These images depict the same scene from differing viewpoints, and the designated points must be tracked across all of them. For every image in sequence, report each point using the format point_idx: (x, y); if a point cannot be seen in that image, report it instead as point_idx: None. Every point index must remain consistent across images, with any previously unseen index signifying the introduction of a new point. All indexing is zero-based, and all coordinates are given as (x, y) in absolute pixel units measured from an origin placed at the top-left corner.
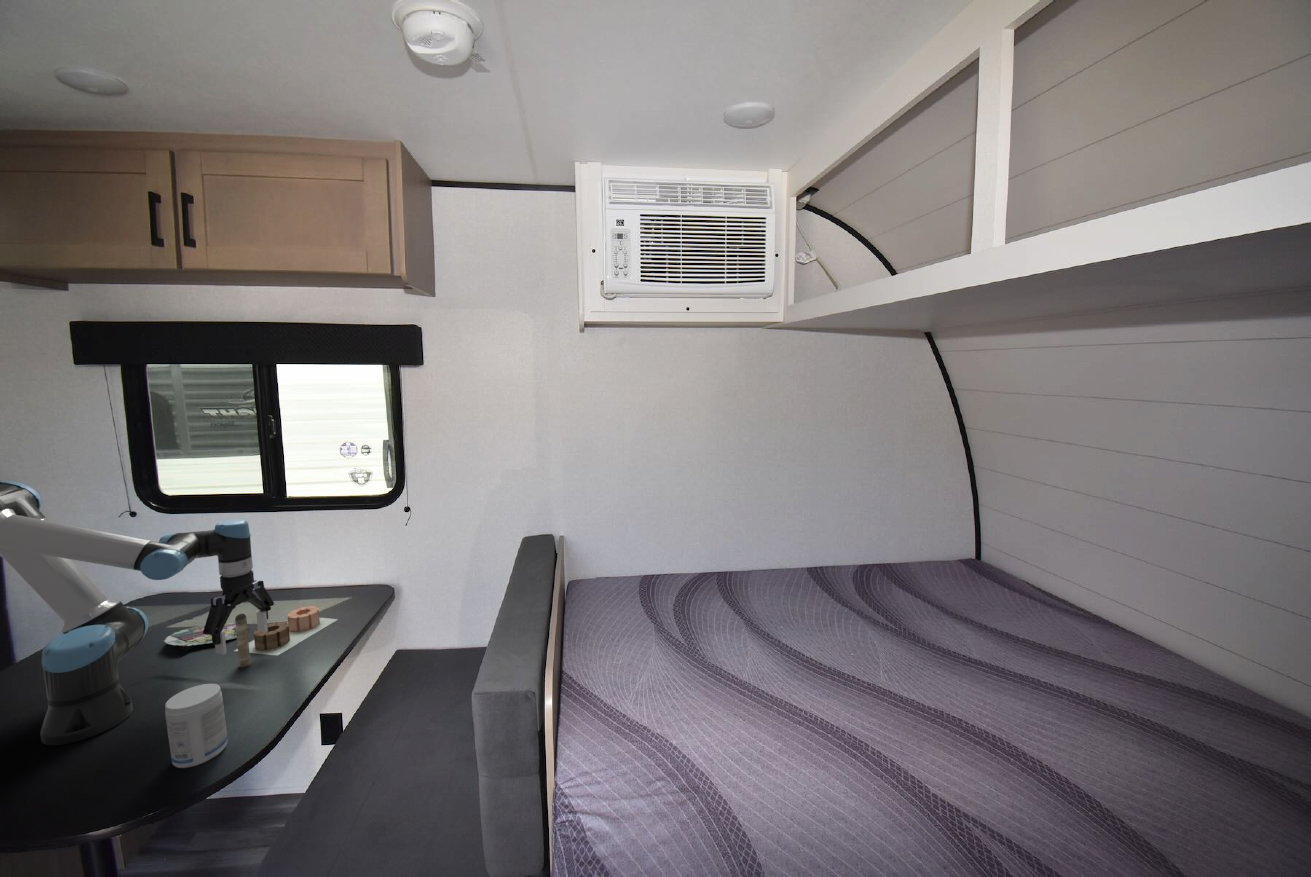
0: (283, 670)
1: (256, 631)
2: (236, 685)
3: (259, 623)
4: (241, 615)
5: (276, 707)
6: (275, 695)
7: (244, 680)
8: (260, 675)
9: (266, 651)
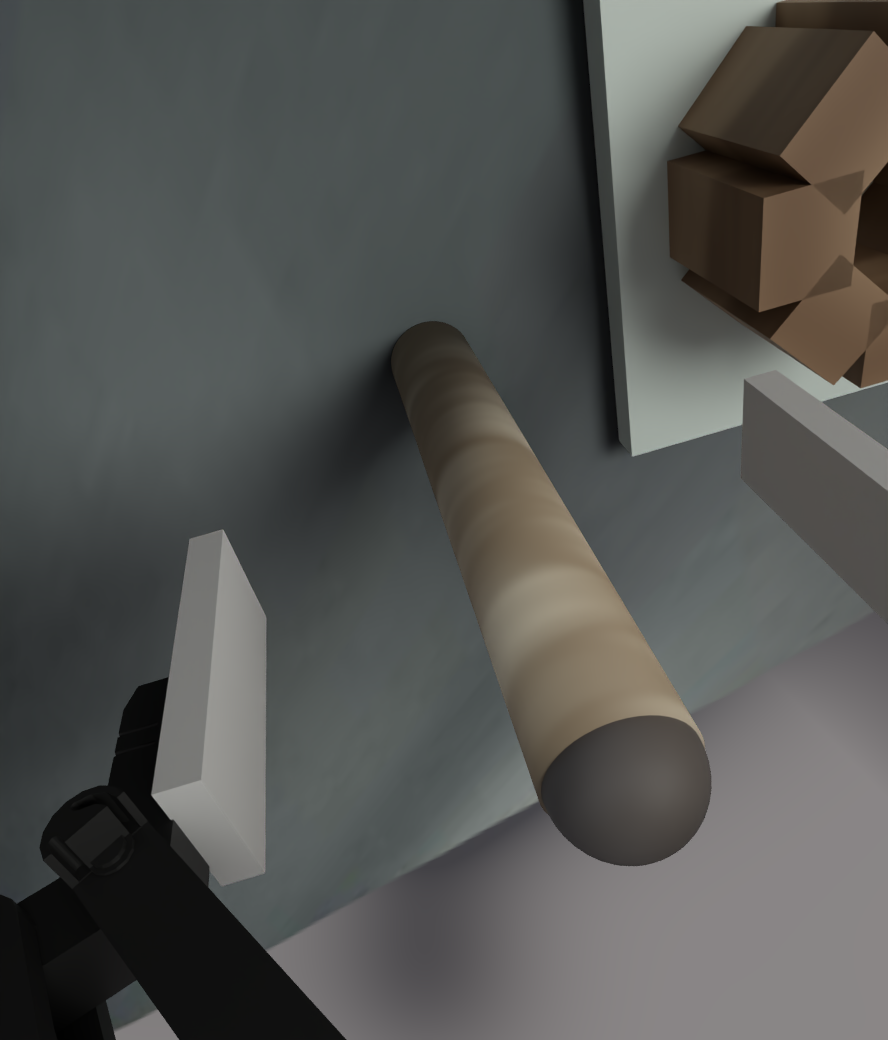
0: None
1: (859, 82)
2: (266, 554)
3: (815, 469)
4: (633, 865)
5: (279, 879)
6: (332, 802)
7: (329, 535)
8: (419, 559)
9: (665, 294)
